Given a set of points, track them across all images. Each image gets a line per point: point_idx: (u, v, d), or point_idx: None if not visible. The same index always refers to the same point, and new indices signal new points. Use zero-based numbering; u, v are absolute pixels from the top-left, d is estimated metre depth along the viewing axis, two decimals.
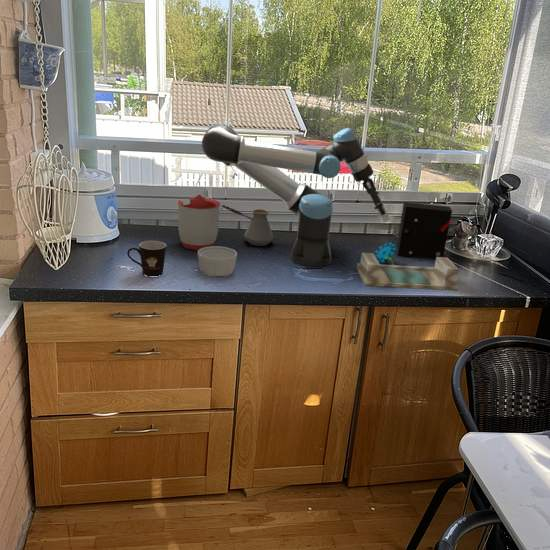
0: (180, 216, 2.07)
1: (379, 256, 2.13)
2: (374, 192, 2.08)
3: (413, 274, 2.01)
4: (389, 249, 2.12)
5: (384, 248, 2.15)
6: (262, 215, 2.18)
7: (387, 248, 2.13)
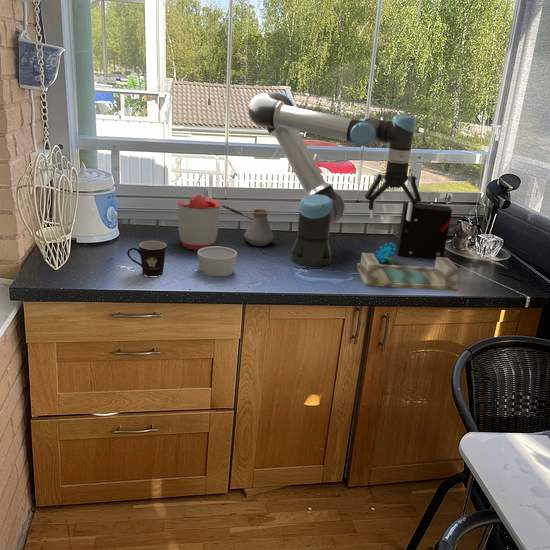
0: (180, 216, 2.07)
1: (379, 256, 2.13)
2: (373, 184, 2.03)
3: (413, 274, 2.01)
4: (389, 249, 2.12)
5: (384, 248, 2.15)
6: (262, 215, 2.18)
7: (387, 248, 2.13)
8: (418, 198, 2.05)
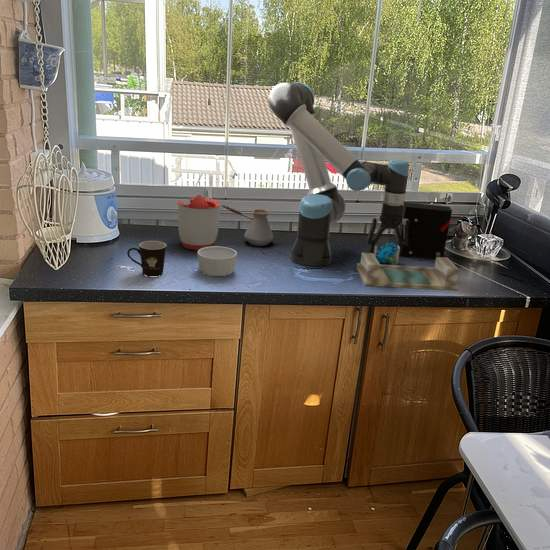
0: (180, 216, 2.07)
1: (380, 256, 2.13)
2: (371, 228, 2.08)
3: (413, 274, 2.01)
4: (390, 249, 2.12)
5: (385, 248, 2.15)
6: (262, 215, 2.18)
7: (388, 248, 2.13)
8: (406, 242, 2.10)
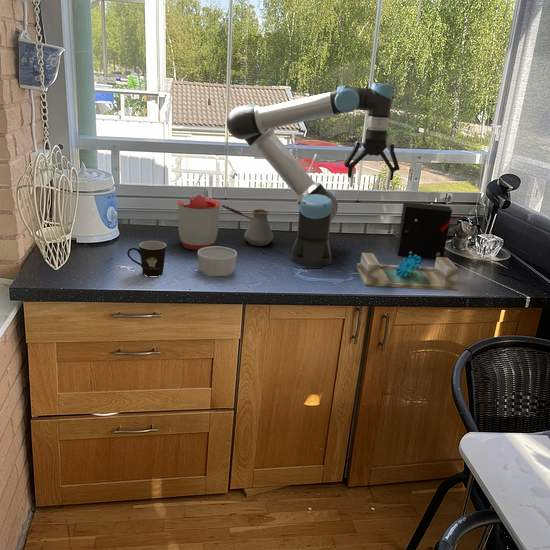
0: (180, 216, 2.07)
1: (402, 269, 1.97)
2: (352, 152, 2.05)
3: None
4: (413, 262, 1.96)
5: (408, 260, 1.99)
6: (262, 215, 2.18)
7: (411, 260, 1.97)
8: (396, 166, 2.07)
